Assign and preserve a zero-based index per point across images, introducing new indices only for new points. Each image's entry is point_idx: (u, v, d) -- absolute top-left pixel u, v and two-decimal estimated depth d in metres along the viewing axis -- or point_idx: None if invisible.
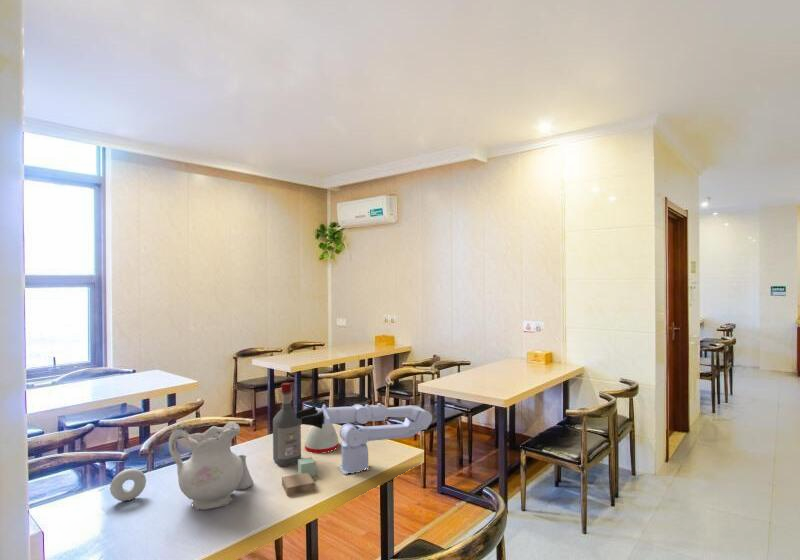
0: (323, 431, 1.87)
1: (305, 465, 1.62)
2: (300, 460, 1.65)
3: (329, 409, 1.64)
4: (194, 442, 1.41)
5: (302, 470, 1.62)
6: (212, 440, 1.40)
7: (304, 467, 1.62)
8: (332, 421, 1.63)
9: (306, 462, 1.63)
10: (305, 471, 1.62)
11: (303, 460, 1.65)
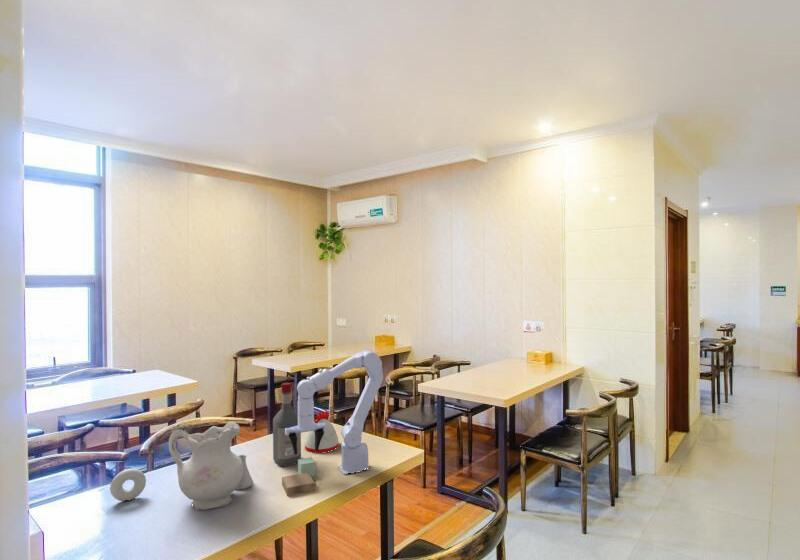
0: None
1: (305, 465, 1.62)
2: (300, 460, 1.65)
3: None
4: (194, 442, 1.41)
5: (302, 470, 1.62)
6: (212, 440, 1.40)
7: (304, 467, 1.62)
8: (299, 421, 1.62)
9: (306, 462, 1.63)
10: (305, 471, 1.62)
11: (303, 460, 1.65)
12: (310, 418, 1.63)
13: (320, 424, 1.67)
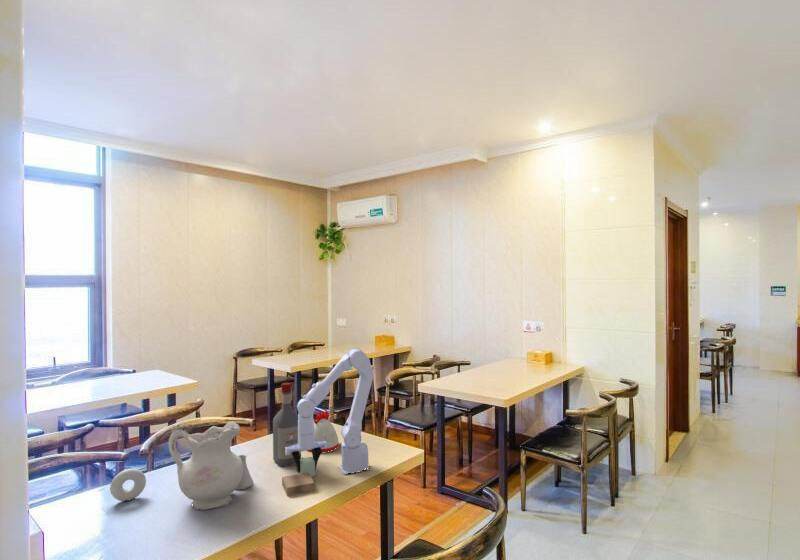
0: (323, 431, 1.87)
1: (305, 465, 1.62)
2: (300, 460, 1.65)
3: None
4: (194, 442, 1.41)
5: (302, 470, 1.62)
6: (212, 440, 1.40)
7: (305, 467, 1.62)
8: (300, 440, 1.62)
9: (306, 462, 1.63)
10: (305, 471, 1.62)
11: (303, 460, 1.65)
12: (310, 437, 1.63)
13: (320, 442, 1.67)
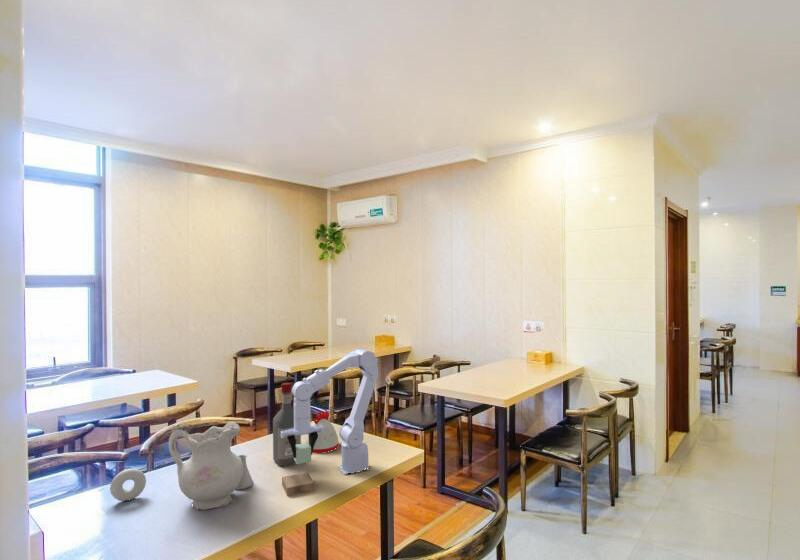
0: (323, 431, 1.87)
1: (301, 450, 1.58)
2: (296, 446, 1.61)
3: None
4: (194, 442, 1.41)
5: (298, 455, 1.58)
6: (212, 440, 1.40)
7: (300, 453, 1.58)
8: (296, 424, 1.58)
9: (302, 447, 1.59)
10: (301, 457, 1.58)
11: (299, 445, 1.61)
12: (306, 421, 1.59)
13: (317, 427, 1.62)
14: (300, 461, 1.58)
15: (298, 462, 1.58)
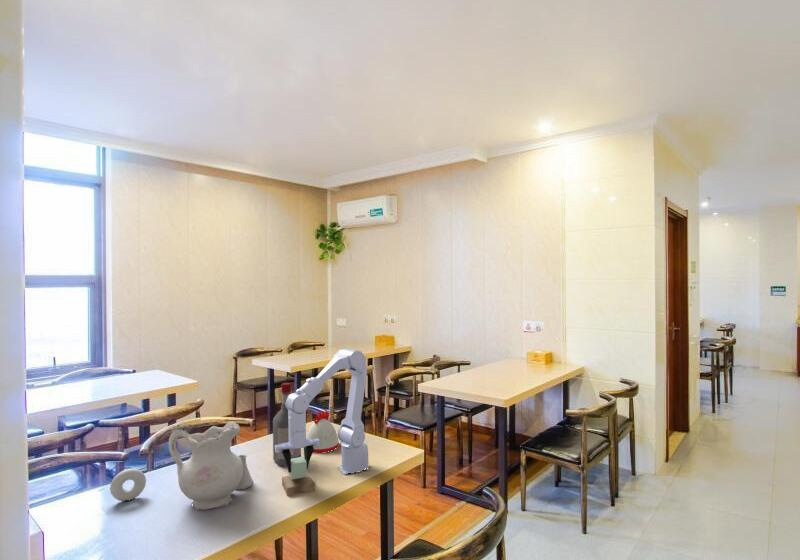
0: (323, 431, 1.87)
1: (296, 465, 1.52)
2: (291, 460, 1.55)
3: None
4: (194, 442, 1.41)
5: (293, 470, 1.52)
6: (212, 440, 1.40)
7: (295, 467, 1.52)
8: (290, 438, 1.52)
9: (297, 462, 1.53)
10: (296, 471, 1.52)
11: (294, 460, 1.55)
12: (302, 434, 1.53)
13: (313, 440, 1.57)
14: (295, 476, 1.52)
15: (293, 477, 1.52)
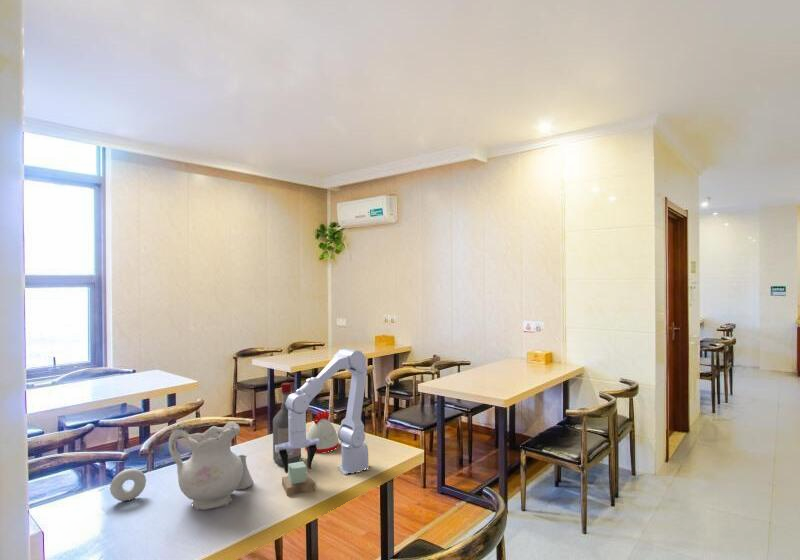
0: (323, 431, 1.87)
1: (296, 470, 1.52)
2: (290, 465, 1.55)
3: None
4: (194, 442, 1.41)
5: (292, 475, 1.51)
6: (212, 440, 1.40)
7: (295, 472, 1.52)
8: (290, 438, 1.52)
9: (297, 467, 1.53)
10: (296, 476, 1.52)
11: (294, 464, 1.55)
12: (302, 434, 1.53)
13: (313, 440, 1.57)
14: (295, 481, 1.52)
15: (293, 482, 1.51)
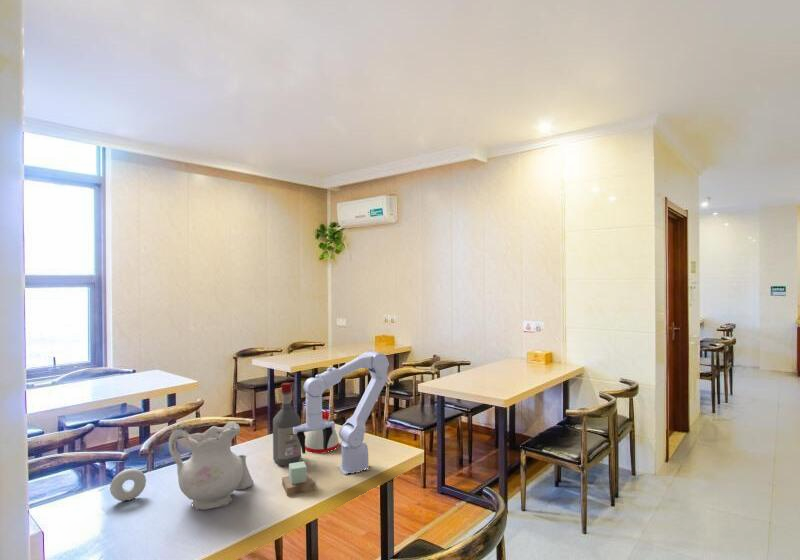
0: None
1: (296, 470, 1.52)
2: (291, 465, 1.55)
3: None
4: (194, 442, 1.41)
5: (293, 475, 1.51)
6: (212, 440, 1.40)
7: (295, 472, 1.52)
8: (308, 420, 1.60)
9: (297, 467, 1.53)
10: (296, 476, 1.52)
11: (294, 464, 1.55)
12: (318, 417, 1.60)
13: (328, 423, 1.64)
14: (295, 481, 1.52)
15: (293, 482, 1.51)
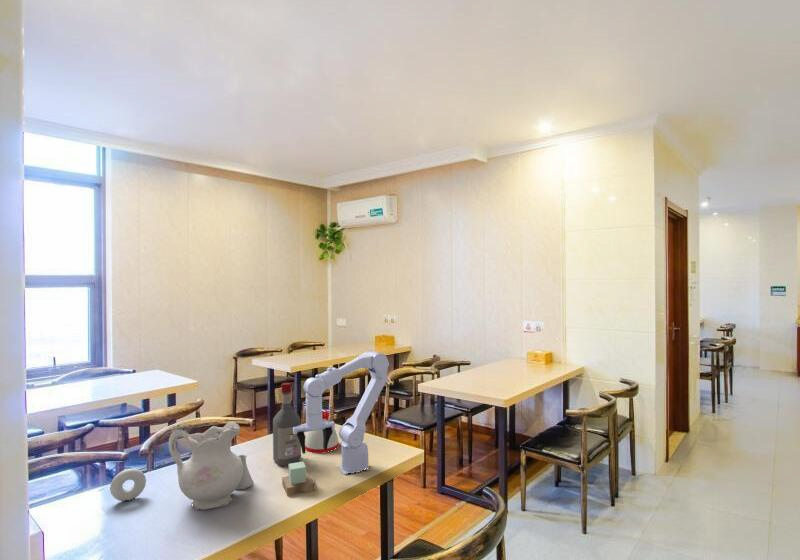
0: None
1: (295, 470, 1.52)
2: (290, 465, 1.55)
3: None
4: (194, 442, 1.41)
5: (292, 475, 1.51)
6: (212, 440, 1.40)
7: (295, 473, 1.52)
8: (308, 420, 1.60)
9: (296, 467, 1.53)
10: (295, 477, 1.52)
11: (294, 465, 1.55)
12: (318, 417, 1.60)
13: (328, 423, 1.64)
14: (294, 481, 1.52)
15: (292, 482, 1.51)
